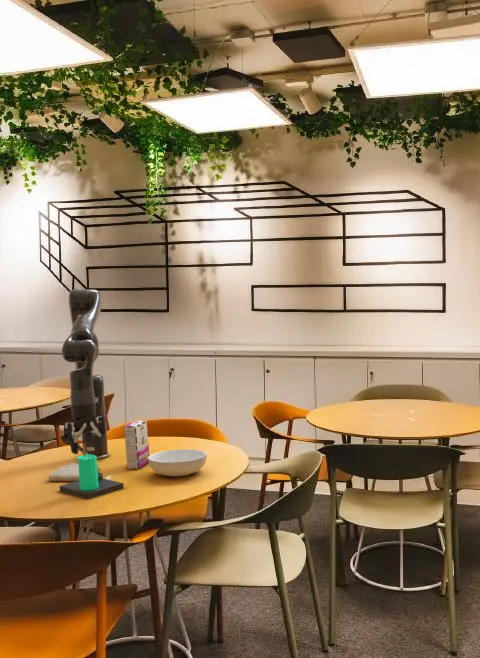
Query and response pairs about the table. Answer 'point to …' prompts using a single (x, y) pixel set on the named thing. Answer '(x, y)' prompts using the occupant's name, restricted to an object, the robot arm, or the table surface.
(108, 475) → the table surface
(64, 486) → the scale
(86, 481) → the candle
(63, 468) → the washcloth
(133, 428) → the candy bar box
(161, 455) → the serving bowl
